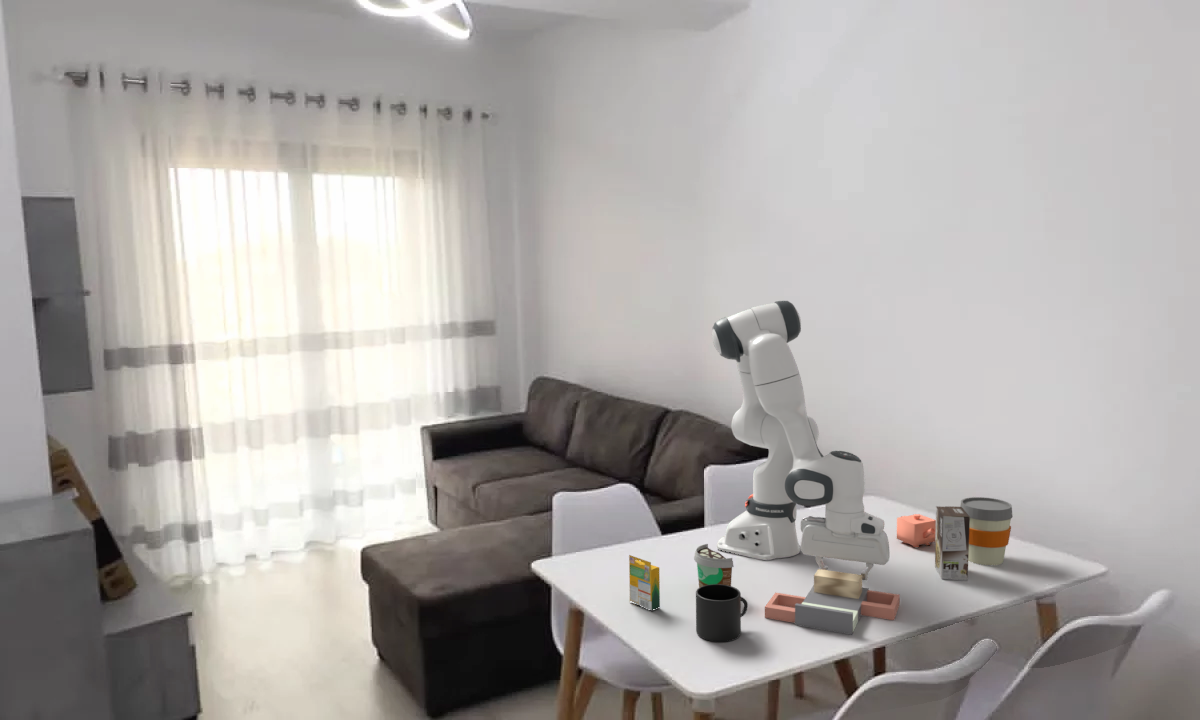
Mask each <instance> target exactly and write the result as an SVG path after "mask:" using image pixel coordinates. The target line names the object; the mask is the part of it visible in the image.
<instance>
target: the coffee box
mask: <svg viewBox="0 0 1200 720" xmlns="http://www.w3.org/2000/svg"><path fill="white" fill-rule="evenodd" d="M935 520H936V534H935V542H934V543H935V544H934V545H935V546H934V553H935V554H934V567H935V570H936V571H937V573H938V575H939V577H940V578H941V579H942V580H954V581H968V580H969V578H968V577H969V561H968V555H969V528H970V516H969V515H968V514H967V513H966V512H965V510H964V509H963V508H962V507H960V506H949V505H948V506H937V505H936V506H935Z"/></svg>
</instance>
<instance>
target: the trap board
mask: <svg viewBox="0 0 1200 720" xmlns="http://www.w3.org/2000/svg"><path fill="white" fill-rule="evenodd" d="M900 597H901V595H900V594H898V593H890V592H883V591H877V590H871V589H869V587H868V588H867V587H863V586H862V593H861V595H860V597H859V599H856V598H849V597H843V596H836V595H830V594H823V593H817V592H814V584H813V586H812V587H811V588H810V589H809V592H808V593H807V595H806V596H799V595H793V594H787V593H781V592H777V591H775V592H774V594H773V595H772V597H770V599H769V601H768V602H767V604H766V605H765V606H764V619H770V620H776V621H782V622H789V623H794V625H795V626H800V627H806V628H811V629H818V630H822V631H827V632H828V631H829V632H835V633H839V634H845V635H850V636H851V635H852V636H853V633H854V631H855V629H856V627H857V625H858V622H859V621H860V618H861V616H864V617H865V616H866V617H870V618H878V619H884V620H890V621H895V619H896V616H897V614H898V610H899V608H900V602H901V601H900Z"/></svg>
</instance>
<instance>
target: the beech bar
mask: <svg viewBox="0 0 1200 720" xmlns="http://www.w3.org/2000/svg"><path fill="white" fill-rule="evenodd" d="M813 585H814V592H817V593H823V594H830V595H836V596H843V597H849V598H856V599H859V597H860V595H861V593H862V587H863V580H862V575H861V574H857V573H851V572H850V573H849V572H841V571H835V570H830V569H829V570H828V569H827V570H823V569H820V568H818V569H817V570H816V572H815V573H814V575H813Z"/></svg>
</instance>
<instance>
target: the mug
mask: <svg viewBox="0 0 1200 720" xmlns="http://www.w3.org/2000/svg"><path fill="white" fill-rule="evenodd" d="M741 603H743V608H741V607H742V606H741V605H742V604H741ZM748 606H749V605H748V601H747V600H746V599H745V598H744V597H743V596H741V591H740V590H739V589H738V588H736V586H735V587H734V586H732V585H731V586H728V585H722V584H710V585H705V586H702V587H700V588H699V587H698V588H697V589H696V590H695V631H696V634H697V636H698V637H700V639H701V638H702V639H703V640H705V641H709V642H715V643H726V642H732V641H734V640H736V639H738V638H739V637H740V636H741V632H742V627H741V626H742V622H741V621H742V620H741V619H742V617H744V616H745V615H746V613H747V612H748V608H749V607H748ZM741 610H742V611H741Z"/></svg>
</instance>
